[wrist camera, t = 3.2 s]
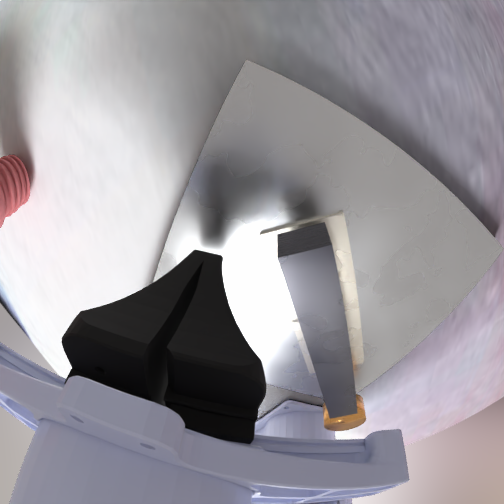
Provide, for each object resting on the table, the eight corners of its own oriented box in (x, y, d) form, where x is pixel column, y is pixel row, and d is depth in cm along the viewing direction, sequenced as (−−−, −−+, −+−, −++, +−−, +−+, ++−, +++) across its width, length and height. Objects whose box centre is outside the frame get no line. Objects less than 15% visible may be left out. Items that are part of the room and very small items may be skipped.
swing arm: (363, 407, 19) (366, 425, 18) (325, 414, 20) (326, 433, 18) (339, 218, 11) (348, 240, 9) (263, 237, 12) (260, 262, 10)
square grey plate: (342, 391, 22) (345, 414, 20) (143, 323, 19) (131, 348, 17) (494, 239, 13) (514, 259, 11) (248, 62, 10) (242, 55, 8)
